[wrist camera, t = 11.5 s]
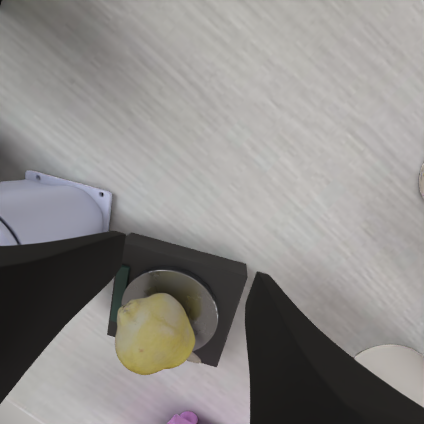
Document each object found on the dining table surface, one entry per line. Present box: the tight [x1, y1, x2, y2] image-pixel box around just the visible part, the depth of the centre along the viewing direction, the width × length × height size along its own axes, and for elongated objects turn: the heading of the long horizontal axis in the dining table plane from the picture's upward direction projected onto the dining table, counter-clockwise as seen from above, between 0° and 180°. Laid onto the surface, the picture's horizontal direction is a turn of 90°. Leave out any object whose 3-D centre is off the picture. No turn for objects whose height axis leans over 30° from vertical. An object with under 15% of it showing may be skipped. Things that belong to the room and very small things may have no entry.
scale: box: [107, 233, 247, 367], centre depth 22 cm, size 13×12×3 cm
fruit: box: [115, 293, 201, 375], centre depth 17 cm, size 6×6×10 cm
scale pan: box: [121, 266, 219, 351], centre depth 20 cm, size 10×10×1 cm
